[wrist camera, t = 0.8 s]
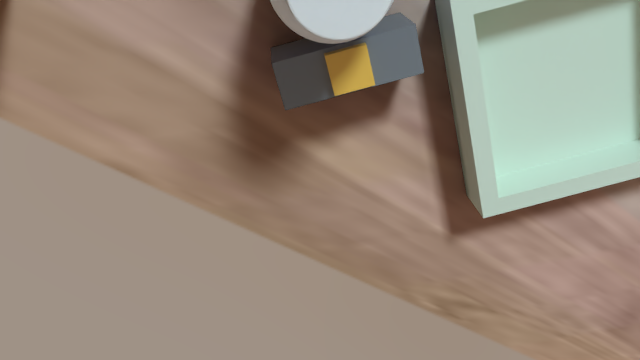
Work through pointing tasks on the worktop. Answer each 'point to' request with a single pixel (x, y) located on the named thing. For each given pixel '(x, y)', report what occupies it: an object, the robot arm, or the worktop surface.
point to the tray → (542, 96)
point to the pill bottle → (331, 18)
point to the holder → (347, 63)
